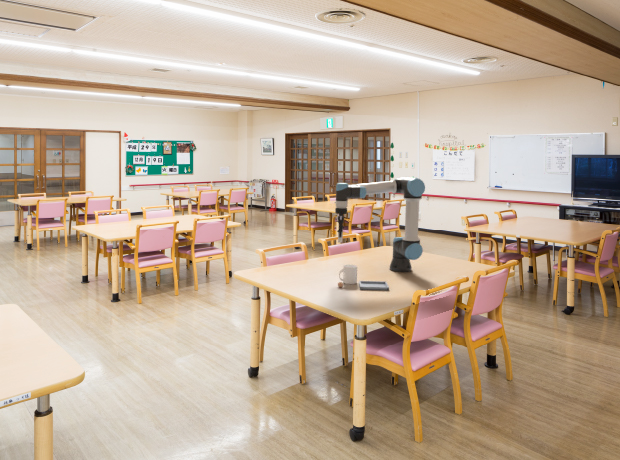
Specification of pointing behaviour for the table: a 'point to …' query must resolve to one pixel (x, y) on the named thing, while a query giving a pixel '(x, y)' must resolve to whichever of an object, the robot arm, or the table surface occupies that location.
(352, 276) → the mug
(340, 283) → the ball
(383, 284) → the tray
